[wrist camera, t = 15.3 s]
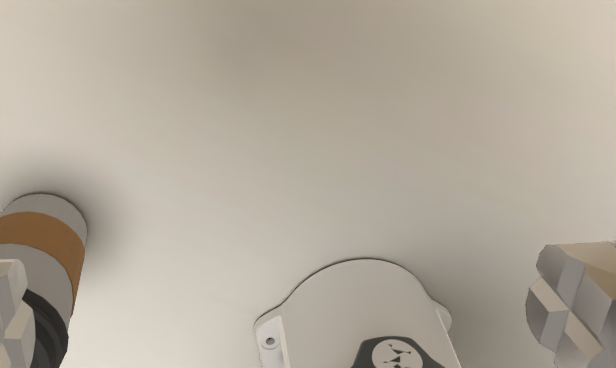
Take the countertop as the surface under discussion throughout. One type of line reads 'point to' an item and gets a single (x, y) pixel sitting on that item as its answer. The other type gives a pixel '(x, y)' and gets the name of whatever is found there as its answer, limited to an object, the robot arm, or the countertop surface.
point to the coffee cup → (46, 266)
